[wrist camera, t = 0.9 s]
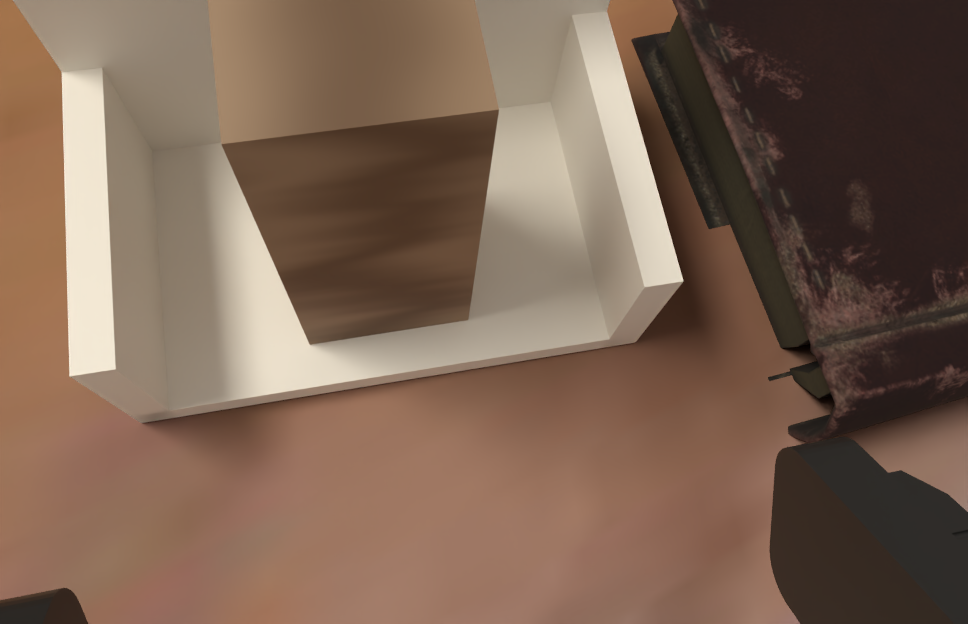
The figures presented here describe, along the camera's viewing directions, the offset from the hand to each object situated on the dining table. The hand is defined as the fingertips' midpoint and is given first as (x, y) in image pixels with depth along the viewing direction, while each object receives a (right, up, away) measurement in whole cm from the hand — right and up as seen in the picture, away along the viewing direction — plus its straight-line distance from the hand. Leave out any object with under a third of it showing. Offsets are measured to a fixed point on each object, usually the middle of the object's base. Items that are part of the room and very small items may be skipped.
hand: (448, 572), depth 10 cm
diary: (+21, +9, +25) cm, 34 cm away
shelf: (-4, +6, +21) cm, 22 cm away
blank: (-3, +5, +20) cm, 21 cm away
